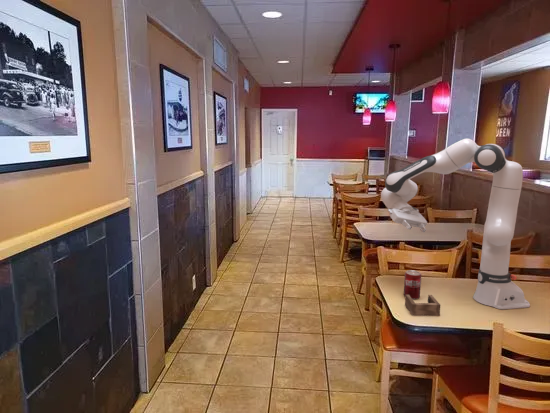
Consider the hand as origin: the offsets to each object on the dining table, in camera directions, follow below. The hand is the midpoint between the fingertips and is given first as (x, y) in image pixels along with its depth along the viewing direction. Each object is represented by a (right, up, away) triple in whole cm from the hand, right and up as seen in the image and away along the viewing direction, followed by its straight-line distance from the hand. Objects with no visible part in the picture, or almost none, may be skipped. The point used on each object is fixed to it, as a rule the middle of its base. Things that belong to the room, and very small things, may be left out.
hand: (417, 229), depth 178 cm
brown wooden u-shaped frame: (-2, -34, -11) cm, 36 cm away
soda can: (-2, -32, +2) cm, 32 cm away
